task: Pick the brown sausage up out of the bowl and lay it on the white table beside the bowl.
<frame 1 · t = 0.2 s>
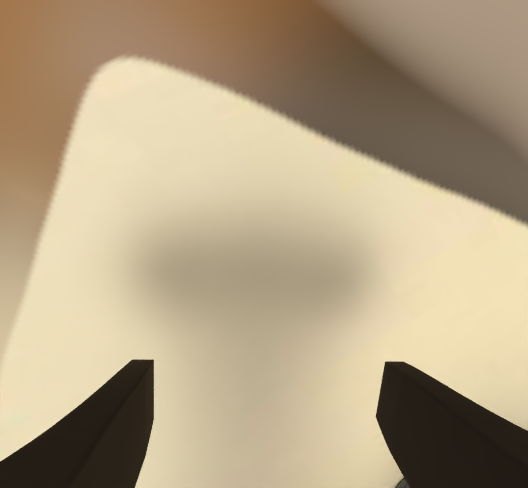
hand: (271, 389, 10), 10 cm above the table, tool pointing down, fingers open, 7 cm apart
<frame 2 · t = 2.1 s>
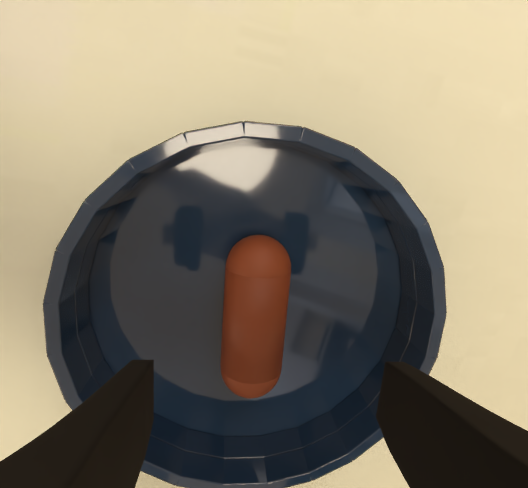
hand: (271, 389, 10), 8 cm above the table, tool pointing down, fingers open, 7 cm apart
sausage: (254, 317, 16), point 2 cm above the table, touching bowl
bowl: (251, 301, 18), on the table
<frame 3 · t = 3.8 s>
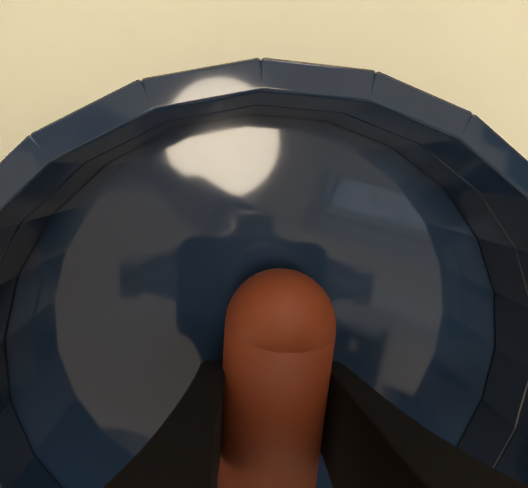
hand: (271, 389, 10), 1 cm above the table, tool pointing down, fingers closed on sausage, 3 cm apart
sausage: (272, 402, 10), point 2 cm above the table, touching gripper, bowl
bowl: (266, 363, 12), on the table
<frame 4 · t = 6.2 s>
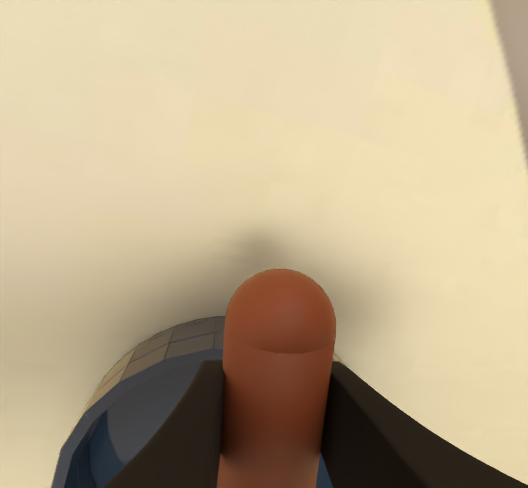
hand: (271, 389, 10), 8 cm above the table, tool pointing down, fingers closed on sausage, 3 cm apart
sausage: (272, 403, 10), point 9 cm above the table, touching gripper
bowl: (230, 444, 21), on the table
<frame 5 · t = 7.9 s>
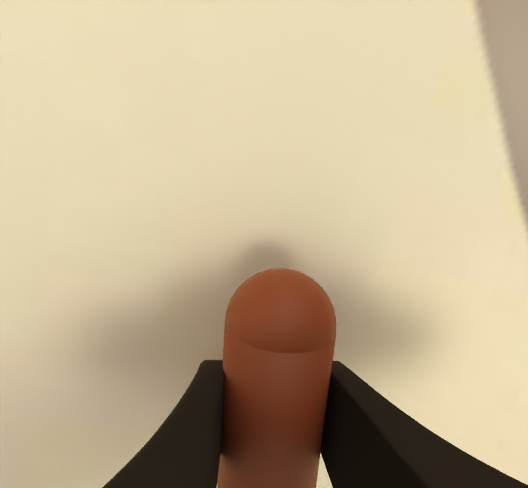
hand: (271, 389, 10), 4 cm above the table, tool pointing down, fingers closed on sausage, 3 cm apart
sausage: (272, 403, 10), point 5 cm above the table, touching gripper
when the fingers open (1 cm above the table, at t = 9.0 s): sausage stays where it is, point 1 cm above the table.
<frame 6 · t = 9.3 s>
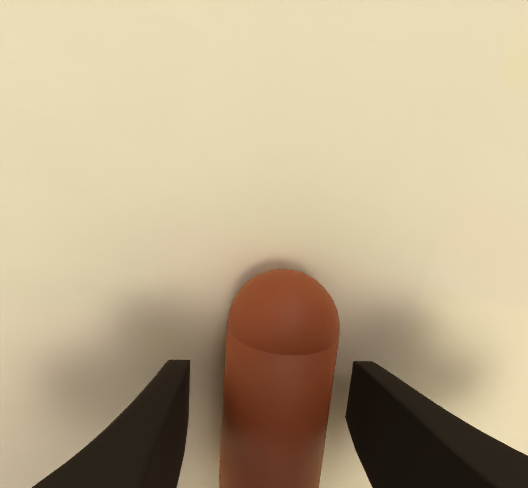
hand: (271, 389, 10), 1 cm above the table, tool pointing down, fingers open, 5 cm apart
sausage: (275, 404, 10), point 1 cm above the table
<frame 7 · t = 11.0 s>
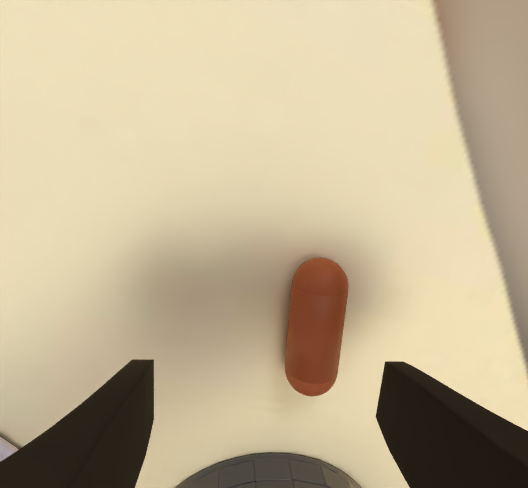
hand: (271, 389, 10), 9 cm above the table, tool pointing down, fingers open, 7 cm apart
sausage: (315, 327, 19), point 1 cm above the table, tilted 10°
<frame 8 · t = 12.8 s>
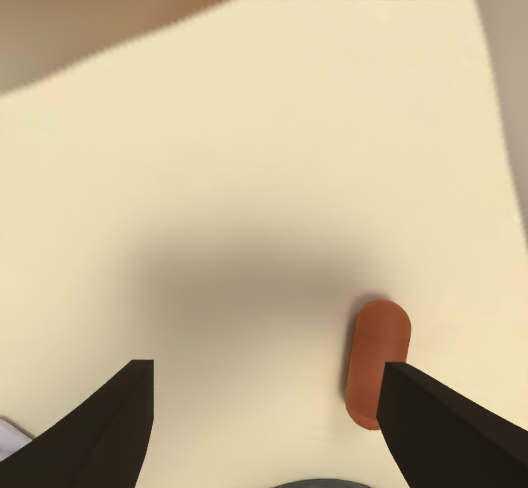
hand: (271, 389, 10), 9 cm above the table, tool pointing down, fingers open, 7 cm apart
sausage: (376, 365, 20), point 1 cm above the table, tilted 20°
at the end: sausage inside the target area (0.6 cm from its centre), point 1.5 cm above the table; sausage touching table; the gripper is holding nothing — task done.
